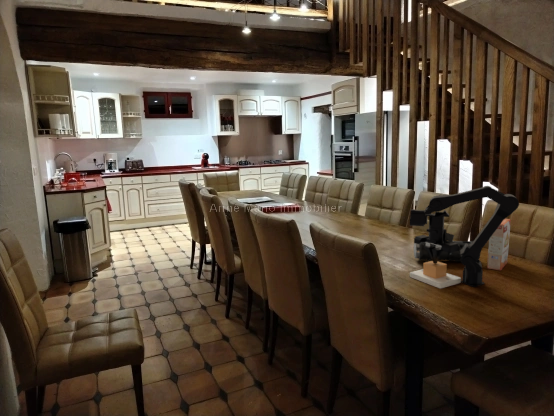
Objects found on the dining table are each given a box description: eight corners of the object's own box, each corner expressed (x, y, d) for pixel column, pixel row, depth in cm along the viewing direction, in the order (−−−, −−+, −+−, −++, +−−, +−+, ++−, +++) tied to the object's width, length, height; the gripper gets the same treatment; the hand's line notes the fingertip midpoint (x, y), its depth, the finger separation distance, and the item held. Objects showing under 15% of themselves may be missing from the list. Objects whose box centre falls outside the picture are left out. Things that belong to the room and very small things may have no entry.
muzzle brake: (480, 265, 178) (481, 243, 176) (416, 264, 183) (416, 242, 181) (473, 259, 187) (474, 238, 185) (413, 258, 192) (413, 237, 191)
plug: (446, 280, 161) (446, 264, 160) (435, 283, 158) (435, 267, 157) (433, 275, 167) (434, 260, 165) (423, 278, 164) (423, 262, 163)
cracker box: (502, 271, 169) (504, 224, 165) (486, 268, 173) (489, 223, 169) (508, 262, 179) (511, 218, 176) (494, 260, 183) (496, 217, 179)
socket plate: (461, 282, 158) (461, 277, 157) (440, 288, 153) (440, 283, 152) (429, 271, 172) (429, 266, 172) (409, 276, 167) (409, 271, 166)
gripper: (469, 228, 154) (468, 265, 156) (432, 220, 170) (431, 254, 173) (450, 232, 149) (449, 270, 151) (413, 223, 165) (412, 259, 168)
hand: (435, 263), depth 161 cm, fingers closed
